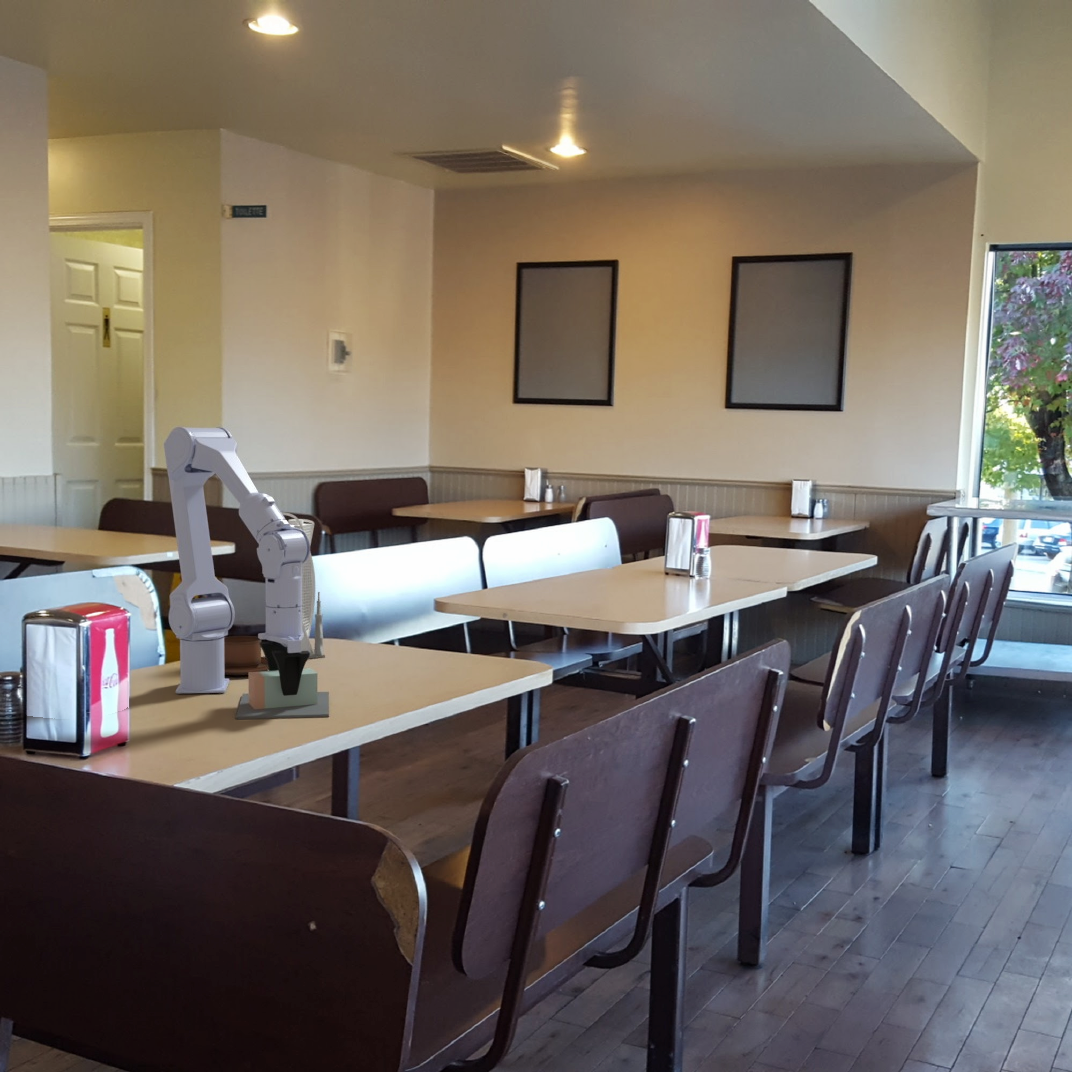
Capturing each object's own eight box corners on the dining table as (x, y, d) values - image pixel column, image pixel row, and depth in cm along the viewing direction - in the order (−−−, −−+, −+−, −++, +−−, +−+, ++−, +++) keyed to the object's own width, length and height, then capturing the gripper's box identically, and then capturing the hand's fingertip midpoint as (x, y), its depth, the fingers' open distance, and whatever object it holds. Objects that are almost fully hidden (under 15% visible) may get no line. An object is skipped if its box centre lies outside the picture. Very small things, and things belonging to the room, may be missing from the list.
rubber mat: (242, 695, 202) (242, 693, 202) (328, 694, 204) (328, 691, 204) (235, 719, 186) (235, 716, 186) (328, 716, 188) (328, 714, 188)
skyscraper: (282, 660, 232) (281, 513, 229) (269, 653, 239) (269, 510, 236) (324, 657, 236) (324, 512, 233) (311, 650, 243) (311, 509, 240)
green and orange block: (310, 698, 199) (310, 667, 199) (317, 704, 195) (317, 673, 195) (248, 703, 195) (248, 672, 194) (254, 709, 191) (254, 677, 190)
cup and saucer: (193, 676, 217) (193, 642, 216) (227, 664, 229) (227, 632, 228) (254, 681, 214) (254, 646, 213) (286, 668, 225) (286, 635, 225)
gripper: (249, 600, 198) (249, 682, 200) (268, 613, 185) (269, 701, 187) (292, 598, 201) (292, 679, 203) (314, 611, 188) (314, 697, 190)
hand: (284, 689), depth 195 cm, fingers open, 7 cm apart
